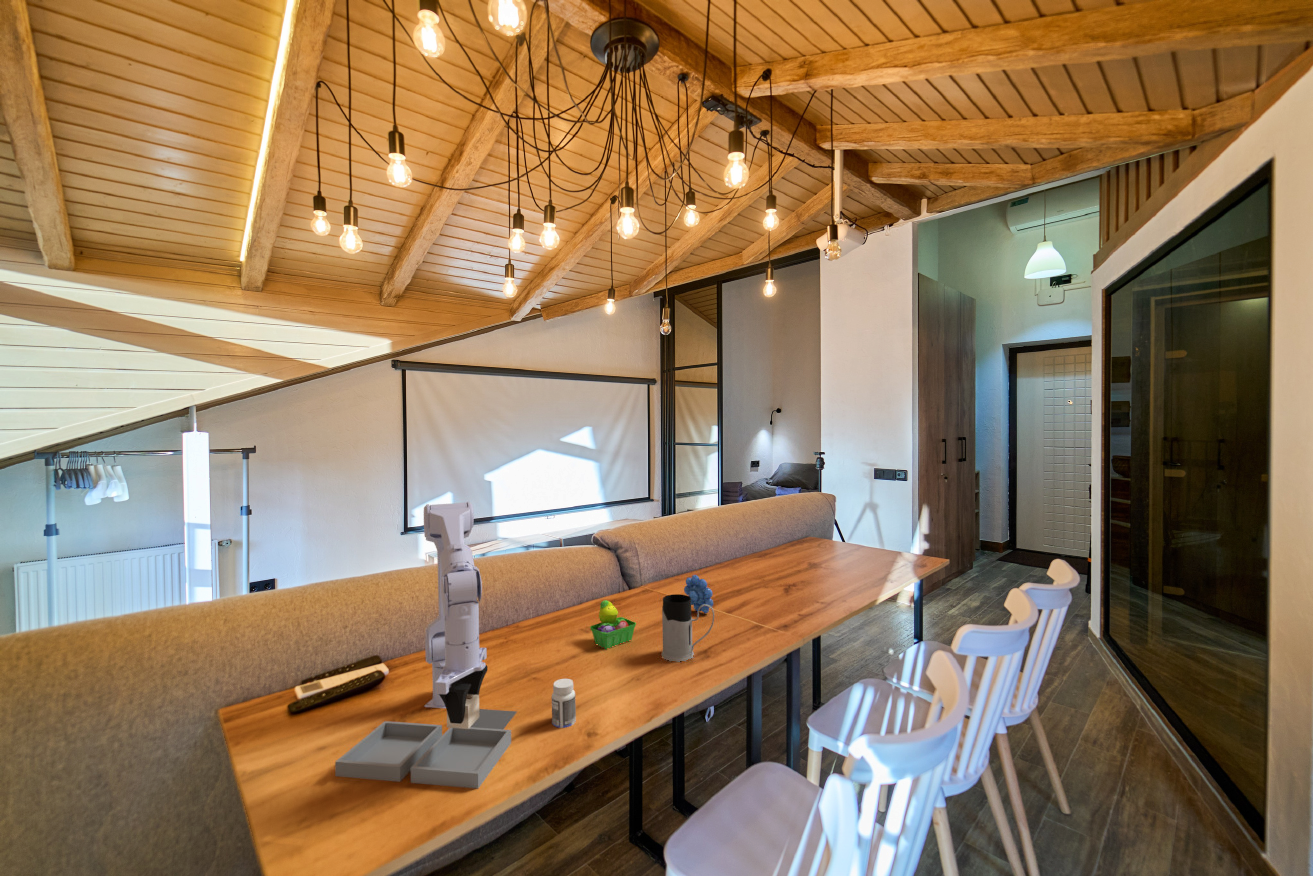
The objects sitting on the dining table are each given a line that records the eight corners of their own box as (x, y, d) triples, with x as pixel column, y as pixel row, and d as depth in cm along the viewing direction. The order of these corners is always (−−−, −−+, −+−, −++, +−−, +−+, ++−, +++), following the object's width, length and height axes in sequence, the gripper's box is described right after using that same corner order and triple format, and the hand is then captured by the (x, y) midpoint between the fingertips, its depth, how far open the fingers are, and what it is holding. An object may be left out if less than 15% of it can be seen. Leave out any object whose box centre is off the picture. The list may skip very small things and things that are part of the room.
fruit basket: (605, 652, 143) (604, 610, 143) (586, 643, 149) (586, 603, 149) (637, 641, 150) (637, 601, 150) (618, 632, 157) (618, 594, 157)
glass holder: (664, 647, 145) (663, 592, 145) (716, 651, 142) (715, 595, 142) (658, 660, 137) (657, 602, 137) (713, 665, 134) (712, 605, 134)
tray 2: (451, 741, 102) (451, 725, 102) (511, 746, 100) (511, 730, 100) (410, 786, 89) (410, 768, 89) (478, 792, 87) (478, 773, 87)
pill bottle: (577, 717, 110) (576, 677, 110) (574, 730, 105) (573, 688, 105) (554, 718, 109) (553, 677, 109) (550, 731, 105) (549, 688, 105)
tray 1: (385, 736, 104) (384, 721, 104) (442, 740, 102) (441, 725, 102) (335, 779, 91) (335, 761, 91) (399, 785, 89) (399, 767, 89)
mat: (472, 711, 113) (472, 708, 113) (517, 714, 111) (517, 711, 111) (447, 738, 103) (447, 734, 103) (496, 741, 101) (496, 738, 101)
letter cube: (458, 715, 96) (458, 692, 96) (479, 717, 96) (479, 694, 96) (446, 727, 93) (446, 703, 92) (468, 729, 92) (468, 705, 92)
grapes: (676, 611, 175) (676, 575, 175) (689, 606, 180) (688, 571, 180) (704, 619, 167) (704, 581, 167) (717, 614, 172) (716, 577, 172)
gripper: (462, 657, 86) (463, 740, 86) (501, 625, 101) (502, 696, 101) (422, 655, 87) (423, 737, 87) (466, 624, 102) (467, 694, 102)
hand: (463, 715), depth 94 cm, fingers closed on letter cube, 4 cm apart
